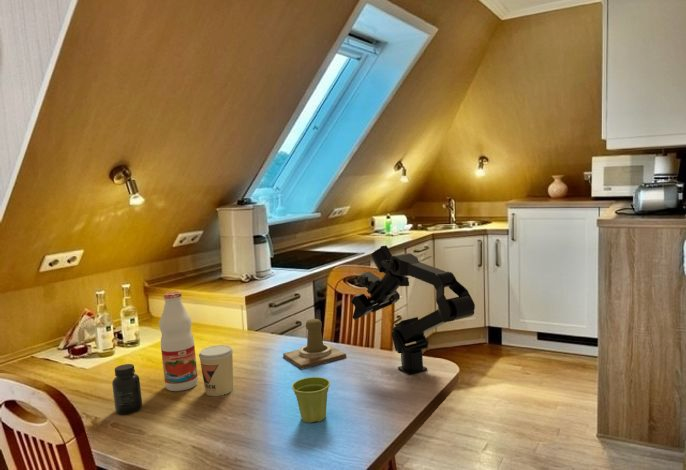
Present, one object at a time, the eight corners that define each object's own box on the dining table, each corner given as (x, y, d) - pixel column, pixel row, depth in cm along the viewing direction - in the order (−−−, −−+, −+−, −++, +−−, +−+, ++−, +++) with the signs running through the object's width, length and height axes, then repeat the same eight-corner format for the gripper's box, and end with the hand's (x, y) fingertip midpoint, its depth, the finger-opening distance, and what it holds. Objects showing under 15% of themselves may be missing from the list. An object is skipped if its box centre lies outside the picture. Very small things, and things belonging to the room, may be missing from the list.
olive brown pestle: (328, 351, 181) (326, 318, 179) (315, 356, 177) (312, 323, 175) (316, 348, 185) (314, 316, 184) (302, 353, 181) (300, 320, 180)
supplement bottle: (122, 404, 152) (117, 363, 150) (146, 403, 151) (141, 361, 150) (111, 416, 145) (105, 372, 143) (136, 414, 145) (131, 371, 143)
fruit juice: (195, 377, 169) (186, 287, 166) (201, 387, 161) (191, 293, 157) (163, 383, 165) (153, 292, 162) (167, 394, 157) (157, 298, 153)
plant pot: (318, 429, 130) (315, 394, 129) (286, 422, 135) (284, 388, 134) (339, 413, 138) (337, 380, 137) (309, 406, 143) (306, 374, 142)
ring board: (346, 357, 178) (345, 350, 177) (301, 369, 170) (301, 361, 170) (326, 346, 190) (325, 339, 190) (283, 356, 182) (282, 349, 182)
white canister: (196, 392, 157) (192, 351, 156) (223, 381, 164) (219, 342, 162) (215, 400, 151) (211, 358, 149) (242, 388, 157) (239, 348, 156)
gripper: (390, 259, 178) (365, 289, 186) (353, 270, 164) (328, 302, 172) (412, 285, 174) (385, 315, 182) (376, 298, 160) (349, 330, 168)
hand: (362, 314), depth 176 cm, fingers open, 9 cm apart
